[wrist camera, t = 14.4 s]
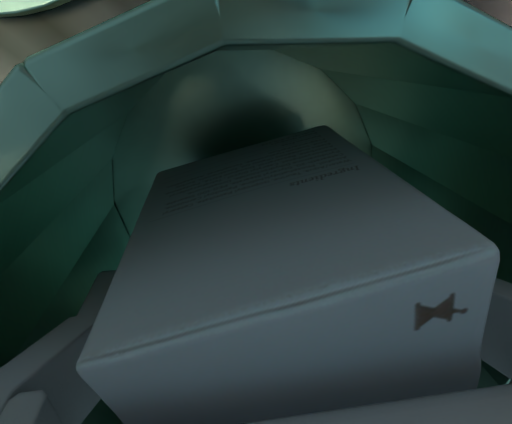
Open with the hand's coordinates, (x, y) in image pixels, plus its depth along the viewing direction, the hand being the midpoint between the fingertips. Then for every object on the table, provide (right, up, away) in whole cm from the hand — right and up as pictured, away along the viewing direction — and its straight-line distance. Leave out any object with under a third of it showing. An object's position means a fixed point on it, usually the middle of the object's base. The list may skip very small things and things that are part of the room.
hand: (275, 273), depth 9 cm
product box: (0, +2, +3) cm, 3 cm away
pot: (-1, +3, +6) cm, 7 cm away
